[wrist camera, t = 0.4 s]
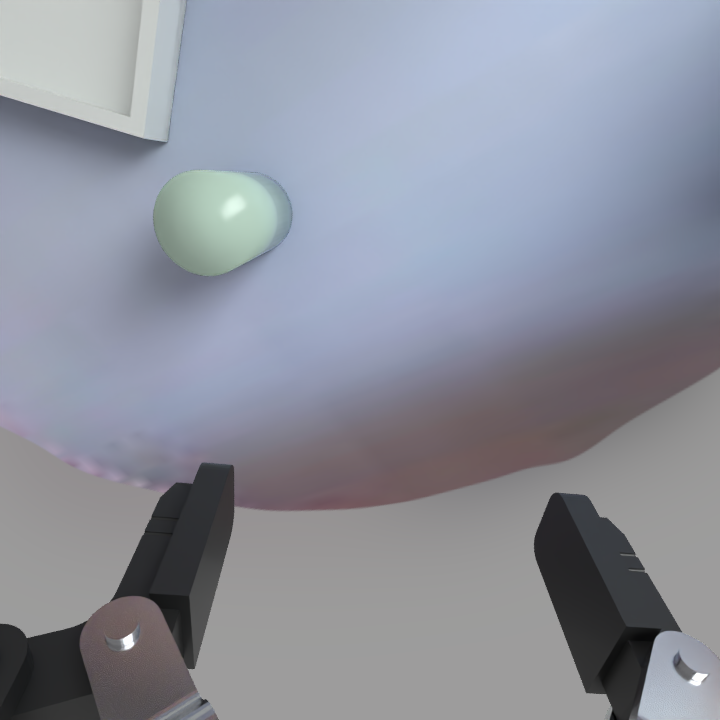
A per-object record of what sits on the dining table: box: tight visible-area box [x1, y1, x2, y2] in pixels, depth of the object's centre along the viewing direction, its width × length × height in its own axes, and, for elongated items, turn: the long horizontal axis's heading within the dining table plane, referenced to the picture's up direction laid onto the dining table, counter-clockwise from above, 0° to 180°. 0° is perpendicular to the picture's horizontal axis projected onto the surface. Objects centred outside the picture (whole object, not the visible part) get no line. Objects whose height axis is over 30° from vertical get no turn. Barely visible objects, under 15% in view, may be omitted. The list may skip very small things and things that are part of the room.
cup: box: [153, 170, 292, 276], centre depth 32 cm, size 6×6×10 cm
